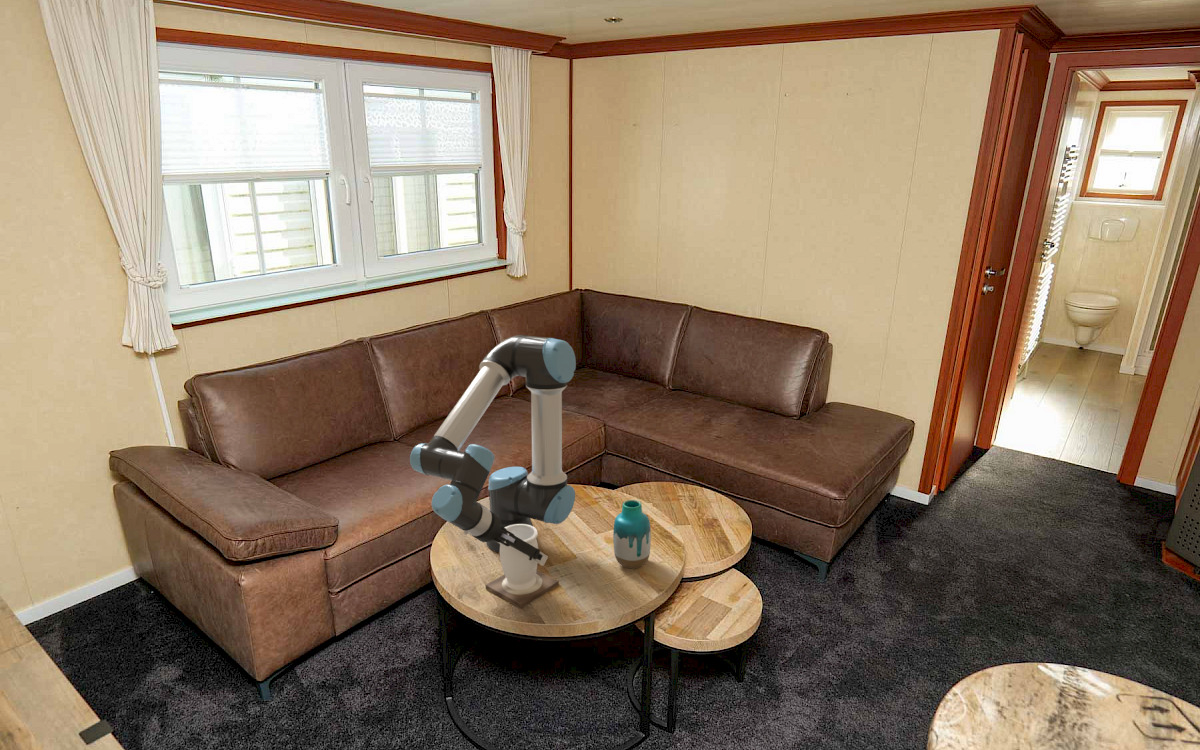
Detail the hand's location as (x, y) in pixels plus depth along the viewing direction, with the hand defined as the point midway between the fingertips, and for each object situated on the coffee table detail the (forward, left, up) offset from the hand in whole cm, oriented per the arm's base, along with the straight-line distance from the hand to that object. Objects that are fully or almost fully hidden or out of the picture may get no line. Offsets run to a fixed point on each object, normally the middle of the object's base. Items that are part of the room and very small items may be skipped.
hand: (527, 552), depth 187 cm
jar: (0, -2, -8) cm, 9 cm away
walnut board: (0, -2, -9) cm, 10 cm away
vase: (+16, +26, -10) cm, 32 cm away
